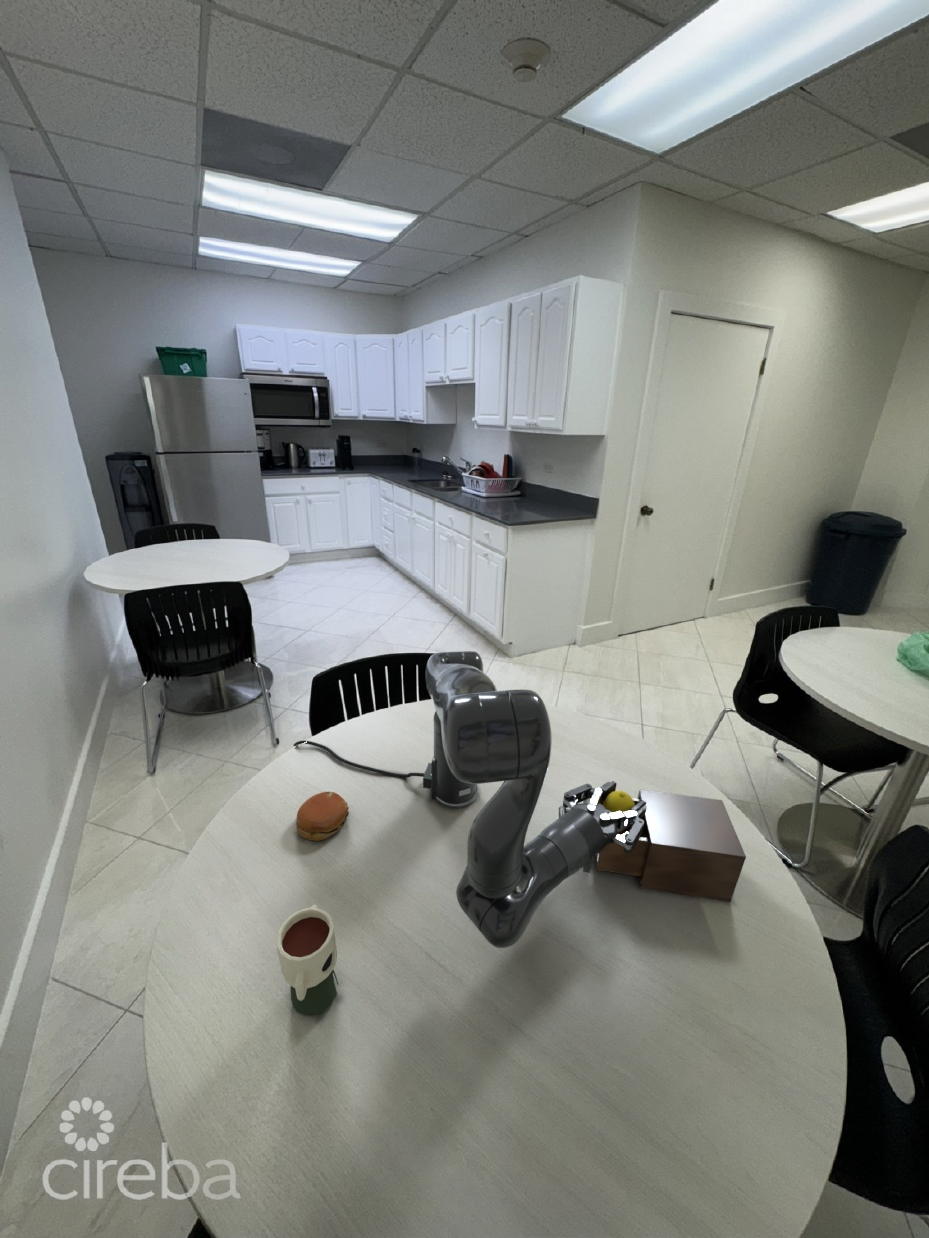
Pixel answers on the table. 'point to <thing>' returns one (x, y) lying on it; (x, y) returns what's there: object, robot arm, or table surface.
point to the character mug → (309, 959)
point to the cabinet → (690, 846)
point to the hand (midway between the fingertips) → (628, 795)
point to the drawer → (620, 851)
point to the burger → (321, 816)
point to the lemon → (618, 802)
